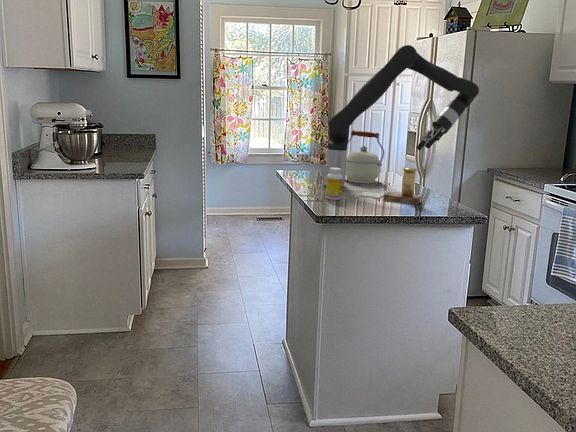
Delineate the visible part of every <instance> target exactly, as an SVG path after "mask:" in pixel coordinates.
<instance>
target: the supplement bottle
mask: <svg viewBox="0 0 576 432" xmlns="http://www.w3.org/2000/svg"><path fill="white" fill-rule="evenodd" d="M340 172H341V169H340V168H330V174H328V175H327V184H326V185H325V186H326V187H325V188H326V189H325V199H328V200H331V201H339V200H341V199H342V194H343V193H342V192H343V191H342V190H343V187H342V182H343V176H342V175H341V174H340Z"/></svg>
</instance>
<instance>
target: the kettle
mask: <svg viewBox="0 0 576 432" xmlns="http://www.w3.org/2000/svg"><path fill="white" fill-rule="evenodd" d="M354 136H356V137H362V138H363V137H364V138H375V139H376V141H377V144H378V145H379V147H380V149H381V151H382V156H381V158H380V159H379V156H378V155H377V154H376V153H375V152H371V151H368V150H369V149H368V147H367V146H366V145H362V146H361V147H360V148H359V150H355V151H352V152H349V154H348V155H347V158H346V170H345V177H347V178H346V180H347V181H348V182H351V183H355V184H374V183H376V180H377V179H378V177H379V176H380V173H381V166H382V165H383V164H382V161H383V160H384V156H385V149H384V148H383V146H382V144H381V142H380V133H379V132H376V133H374V132H370V131H361V130H359V131H358V130H357V131H356V130H351V133H350V137H349V139H348V144H349V143H350V141H352V139H353V137H354Z"/></svg>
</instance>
